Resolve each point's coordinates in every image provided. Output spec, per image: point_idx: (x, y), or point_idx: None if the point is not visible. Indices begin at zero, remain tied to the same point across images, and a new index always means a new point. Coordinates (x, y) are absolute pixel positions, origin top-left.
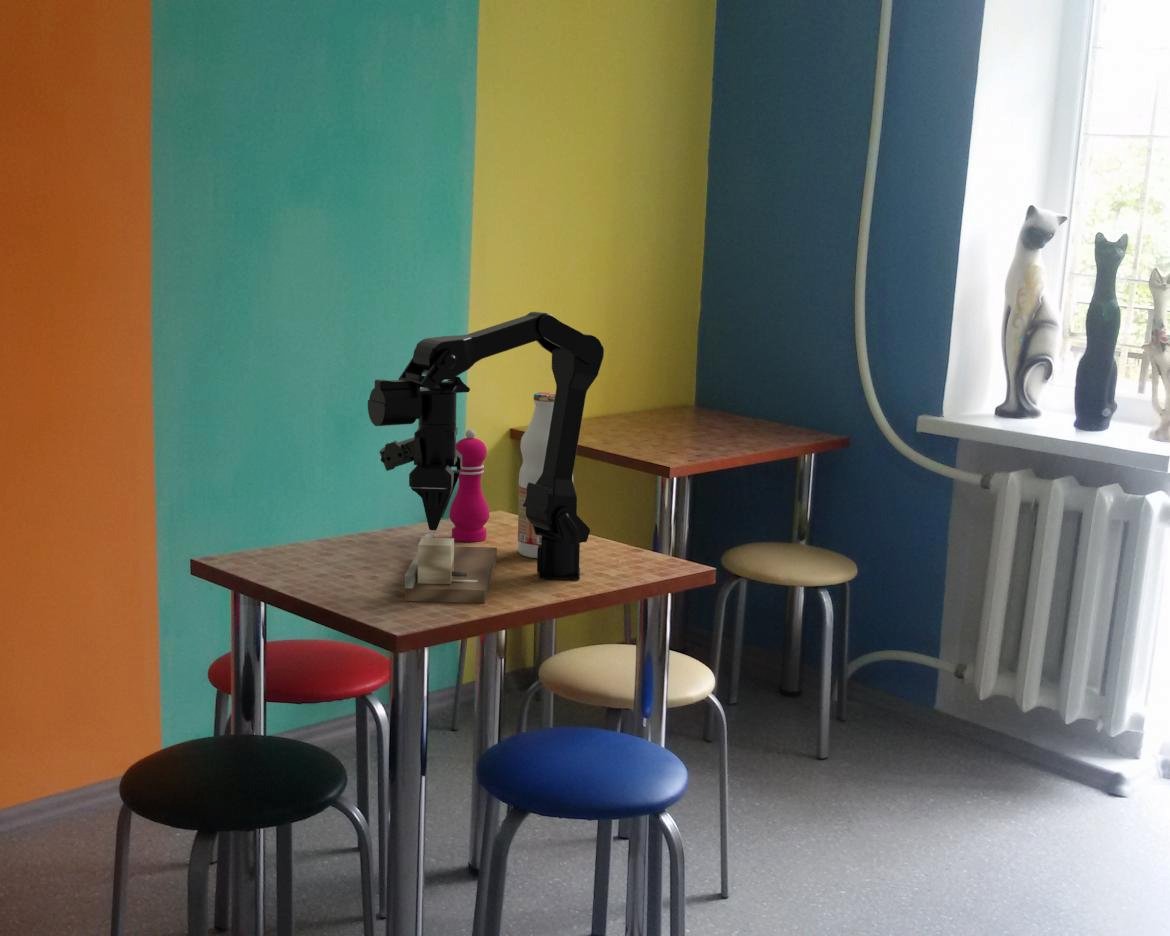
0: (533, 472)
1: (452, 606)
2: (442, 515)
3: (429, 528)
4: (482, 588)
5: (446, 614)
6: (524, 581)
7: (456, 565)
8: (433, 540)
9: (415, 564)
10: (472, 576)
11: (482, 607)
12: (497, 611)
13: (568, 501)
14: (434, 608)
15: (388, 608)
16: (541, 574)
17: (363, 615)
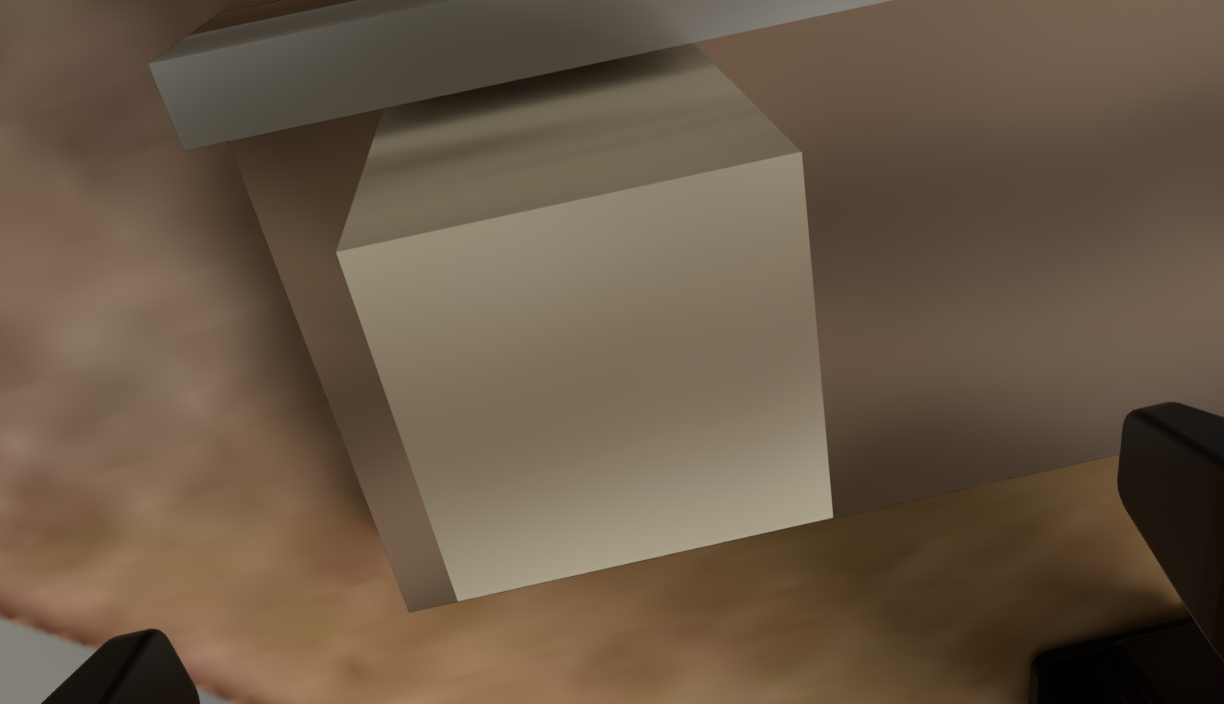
0: None
1: (249, 403)
2: (1137, 513)
3: (104, 654)
4: (450, 588)
5: (30, 430)
6: (986, 593)
7: (1102, 220)
8: (670, 348)
9: (652, 16)
10: None
11: (315, 567)
12: (268, 658)
13: None
14: (133, 308)
15: None
16: (1078, 664)
17: None
